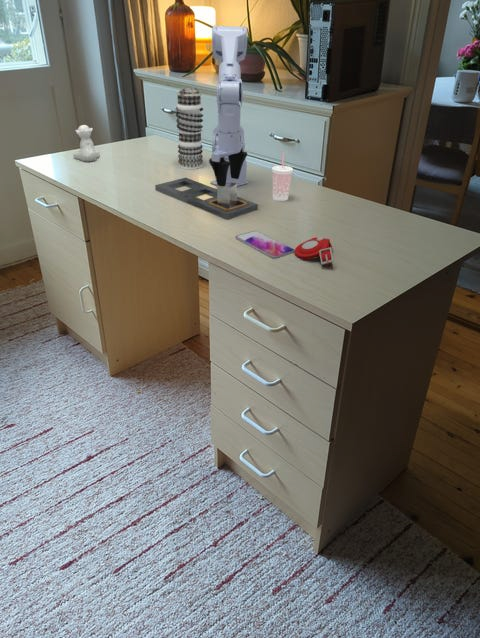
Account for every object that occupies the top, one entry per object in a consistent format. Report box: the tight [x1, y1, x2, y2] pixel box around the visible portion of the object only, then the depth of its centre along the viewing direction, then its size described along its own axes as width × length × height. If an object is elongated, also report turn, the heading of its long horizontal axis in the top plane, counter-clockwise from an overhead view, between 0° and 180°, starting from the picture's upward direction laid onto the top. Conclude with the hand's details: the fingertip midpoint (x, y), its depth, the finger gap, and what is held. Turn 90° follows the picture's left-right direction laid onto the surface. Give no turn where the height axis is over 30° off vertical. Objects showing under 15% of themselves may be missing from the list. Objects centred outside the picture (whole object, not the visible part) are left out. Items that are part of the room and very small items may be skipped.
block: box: [216, 182, 238, 209], centre depth 146 cm, size 4×4×7 cm
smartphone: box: [234, 230, 295, 260], centre depth 127 cm, size 7×1×15 cm
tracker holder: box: [294, 237, 334, 267], centre depth 122 cm, size 12×4×10 cm
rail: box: [154, 177, 259, 220], centre depth 153 cm, size 12×32×2 cm, turn 45°
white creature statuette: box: [72, 124, 101, 163], centre depth 182 cm, size 10×9×12 cm
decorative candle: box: [175, 87, 204, 170], centre depth 175 cm, size 9×9×25 cm
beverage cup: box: [271, 150, 294, 202], centre depth 152 cm, size 6×6×14 cm
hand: (228, 181), depth 143 cm, fingers open, 7 cm apart
